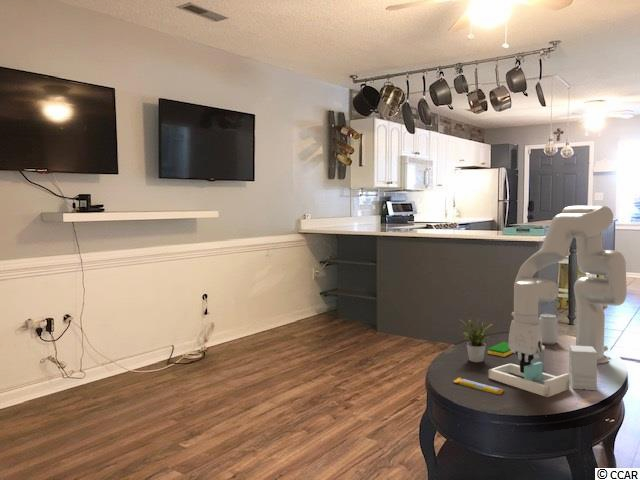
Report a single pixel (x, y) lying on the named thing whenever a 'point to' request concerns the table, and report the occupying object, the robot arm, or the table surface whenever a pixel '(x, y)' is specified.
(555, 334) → the can
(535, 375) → the pusher
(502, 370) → the frame
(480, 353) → the house plant
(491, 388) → the candy bar
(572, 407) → the table surface
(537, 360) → the jar
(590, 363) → the supplement box
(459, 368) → the table surface
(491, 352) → the dish sponge
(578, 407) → the table surface
